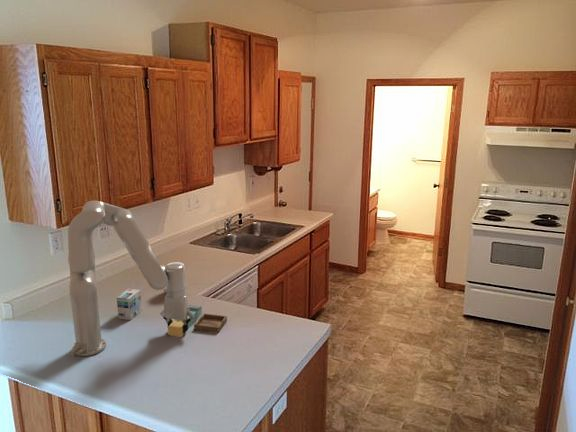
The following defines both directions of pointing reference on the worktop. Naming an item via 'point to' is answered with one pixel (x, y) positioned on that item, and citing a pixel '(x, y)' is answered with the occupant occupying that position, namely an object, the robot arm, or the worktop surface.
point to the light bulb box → (129, 304)
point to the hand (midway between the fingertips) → (178, 330)
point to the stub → (176, 328)
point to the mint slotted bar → (194, 313)
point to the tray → (210, 323)
